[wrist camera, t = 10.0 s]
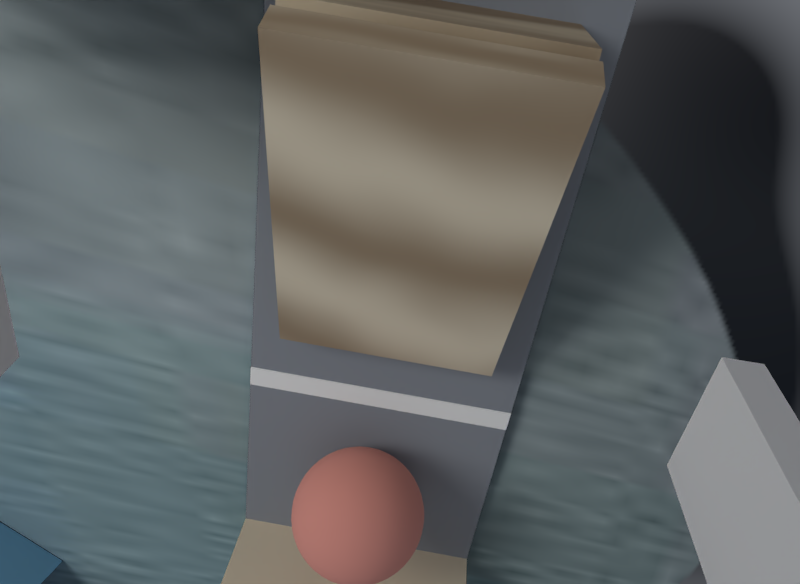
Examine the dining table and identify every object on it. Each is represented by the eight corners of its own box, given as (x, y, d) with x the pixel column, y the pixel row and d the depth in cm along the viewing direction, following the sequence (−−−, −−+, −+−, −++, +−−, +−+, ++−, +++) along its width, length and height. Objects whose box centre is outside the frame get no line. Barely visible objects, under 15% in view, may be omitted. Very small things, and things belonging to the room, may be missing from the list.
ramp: (312, -24, 22) (258, 1, 17) (579, 22, 22) (613, 61, 17) (288, 318, 29) (245, 413, 24) (490, 354, 29) (493, 458, 24)
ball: (306, 414, 29) (271, 554, 26) (440, 438, 29) (422, 581, 26) (309, 463, 34) (280, 586, 31) (424, 484, 34) (407, 609, 31)
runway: (271, -100, 21) (204, -101, 16) (644, -37, 21) (698, -17, 16) (247, 527, 37) (209, 629, 31) (462, 566, 36) (460, 676, 31)
